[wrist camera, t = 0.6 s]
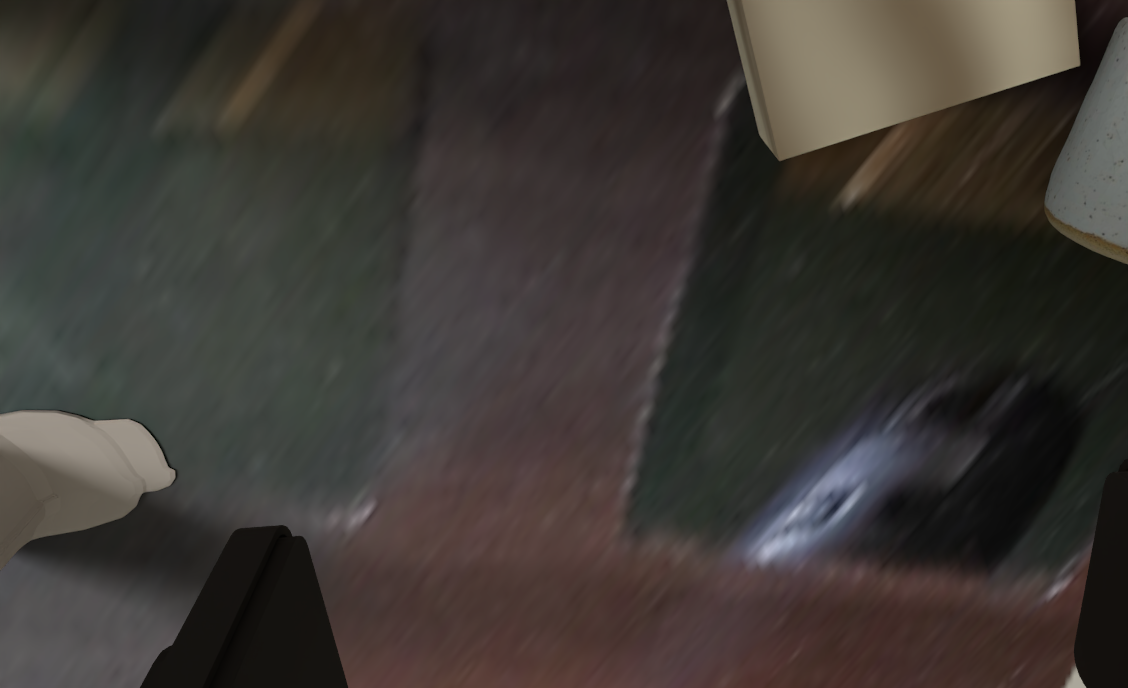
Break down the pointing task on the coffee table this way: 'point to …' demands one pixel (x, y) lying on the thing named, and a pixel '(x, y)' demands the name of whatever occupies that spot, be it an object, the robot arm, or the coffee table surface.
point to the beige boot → (71, 474)
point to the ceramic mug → (1097, 161)
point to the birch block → (888, 60)
